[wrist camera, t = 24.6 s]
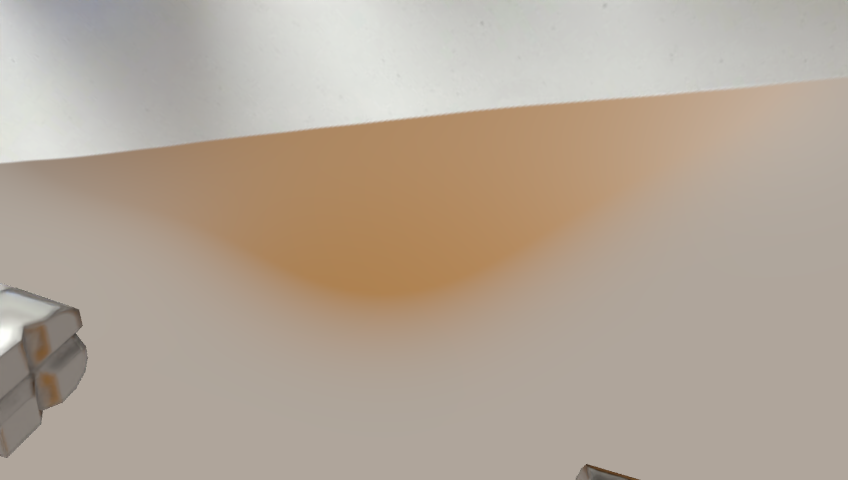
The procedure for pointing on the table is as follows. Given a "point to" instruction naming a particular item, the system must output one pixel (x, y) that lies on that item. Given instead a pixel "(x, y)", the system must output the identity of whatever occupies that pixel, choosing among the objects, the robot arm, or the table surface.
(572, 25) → the table surface
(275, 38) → the table surface
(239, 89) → the table surface
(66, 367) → the robot arm
